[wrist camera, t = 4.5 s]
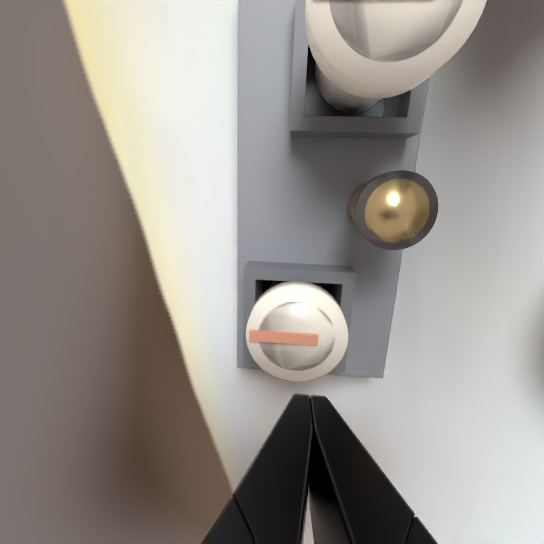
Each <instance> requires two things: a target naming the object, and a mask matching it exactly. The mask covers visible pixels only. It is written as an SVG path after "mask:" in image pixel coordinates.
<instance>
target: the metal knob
mask: <svg viewBox="0 0 544 544" xmlns="http://www.w3.org/2000/svg"><path fill="white" fill-rule="evenodd" d="M347 211H348V215H349V218H350V219H351V221H352V222H353V223H354V224H355V225H356V226H357V229H358V230H359V232H360V234H361V235H362V236H363V237H364V238H365V239H366V240H367V241H369V242H370V243H372V244H373V245H375V246H377V247H379V248H382V249H386V250H400V249H405V248H408V247H410V246H413V245H414V244H416V243H418V242H419V241H421V240H422V239H423V238H424V237H425V236H426V235H427V234H428V233H429V231H430V230H431V228H432V227H433V225H434V223H435V220H436V217H437V213H438V200H437V195H436V192H435V190H434V188H433V187H432V185H431V184H430V182H429V181H428V180H427V179H425V178H424V177H423V176H421V175H419V174H417V173H415V172H412V171H406V170H397V171H391V172H386V173H383V174H380V175H378V176H376V177H375V178H373V179H372V180H370V181H369V182H367V183H364V184H362V185H360V186H359V187H357V188H356V189H355V190H354V191H353V192H352V194H351V195H350V198H349V200H348V204H347Z"/></svg>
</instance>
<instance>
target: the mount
mask: <svg viewBox="0 0 544 544" xmlns="http://www.w3.org/2000/svg"><path fill="white" fill-rule="evenodd" d="M305 3H306V0H239V4H238V367H239V368H253V369H262V368H261V367H260V366H259V365H258V364H257V363H256V362H255V360H254V359H253V357H252V356H251V354H250V352H249V349H248V346H247V342H246V327H247V322H248V320H249V317H250V314H251V311H252V309H253V306H254V305H255V303H256V301H257V300H258V299H259V297H260V296H261V295H262V294H263V280H274V281H303V282H311V283H329V284H331V292H330V294H331V295H332V296H333V297H334V299H335V300H336V301H337V303H338V304H339V306H340V308H341V311H342V313H343V316H344V318H345V321H346V324H347V328H348V344H347V348H346V351H345V354H344V356H343V358H342V359H341V361H340V362H339V363H338V364H337V365H336V367H335V368H333V369H332V370H331V371H330V372H328V373H327V374H333V375H347V376H360V377H374V378H383V374H384V367H385V361H386V354H387V348H388V341H389V335H390V328H391V322H392V315H393V309H394V302H395V296H396V289H397V283H398V276H399V270H400V264H401V257H402V251H403V249H400V250H386V249H382V248H379V247H377V246H375V245H373V244H372V243H370V242H369V241H367V240H366V239H365V238H364V237H363V236H362V235H361V234H360V232H359V230H358V229H357V226H356V225H355V224H354V223H353V222H352V221H351V219H350V218H349V215H348V211H347V204H348V200H349V198H350V195H351V194H352V192H353V191H354V190H355V189H356V188H357V187H359V186H360V185H362V184H364V183H367V182H369V181H370V180H372V179H373V178H375V177H376V176H378V175H380V174H383V173H386V172H391V171H397V170H406V171H412V172H415V166H416V160H417V153H418V147H419V140H420V134H421V127H422V121H423V114H424V108H425V101H426V95H427V88H428V82H429V77H428V78H427V79H426V80H425V81H424V82H422V83H421V84H419V85H418V86H416V87H415V88H413V89H411V90H409V91H407V92H405V93H402V94H399V95H396V96H393V97H388V98H386V99H385V107H384V116H383V117H342V116H304V109H305V91H306V74H307V56H308V39H307V35H306V27H305Z"/></svg>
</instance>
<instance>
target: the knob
mask: <svg viewBox="0 0 544 544" xmlns="http://www.w3.org/2000/svg"><path fill="white" fill-rule="evenodd" d="M246 342H247V346H248V349H249V352H250V354H251V356H252V357H253V359H254V360H255V362H256V363H257V364H258V365H259V366H260V367H261V368H262V369H263V370H264V371H266V372H267V373H269V374H271V375H273V376H274V377H277V378H280V379H283V380H287V381H294V382H301V381H309V380H313V379H316V378H319V377H321V376H323V375H325V374H327V373H328V372H330V371H331V370H332V369H333V368H335V367H336V365H337V364H338V363H339V362H340V361H341V359H342V358H343V356H344V354H345V351H346V348H347V344H348V328H347V324H346V321H345V318H344V316H343V313H342V311H341V308H340V306H339V304H338V303H337V301H336V300H335V299H334V297H333V296H332V295H331V294H330V293H329V292H327V291H326V290H324V289H323V288H322V285H321V284H320V283H311V282H303V281H273V283H272V284H271V287H270V289H268V290H267V291H266V292H264V293H263V294H262V295H261V296H260V297H259V299H258V300H257V301H256V303H255V305H254V306H253V309H252V311H251V314H250V317H249V320H248V322H247V327H246Z"/></svg>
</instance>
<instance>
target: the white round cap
mask: <svg viewBox="0 0 544 544" xmlns="http://www.w3.org/2000/svg"><path fill="white" fill-rule="evenodd" d="M486 1H487V0H306V3H305V27H306V35H307V39H308V44H309V47H310V50H311V53H312V55H313V57H314V59H315V61H316V67H315V74H316V81H317V85H318V88H319V90H320V92H321V94H322V96H323V97H324V99H325V100H326V101H327V102H328V103H329V104H330V105H332V106H333V107H335V108H336V109H339V110H341V111H345V112H360V111H364V110H367V109H369V108H371V107H373V106H375V105H376V104H377V103H379V102H380V101H381V100H382V99H383V98H388V97H393V96H396V95H399V94H402V93H405V92H407V91H409V90H411V89H413V88H415V87H416V86H418V85H419V84H421V83H422V82H424V81H425V80H426V79H427V78H428V77H430V76H431V75H432V74H433V73H434V72H435V71H437V70H438V69H439V68H440V67H441V66H442V65H444V64H445V63H446V62H447V61H448V60H449V59H451V58H452V57H453V55H454V54H455V53H456V52H457V51H458V50H459V49H460V48H461V47H462V46H463V44H464V43H465V42H466V40H467V39H468V38H469V36H470V35H471V33H472V31H473V30H474V28H475V26H476V25H477V23H478V21H479V19H480V16H481V14H482V12H483V10H484V7H485V4H486Z"/></svg>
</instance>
